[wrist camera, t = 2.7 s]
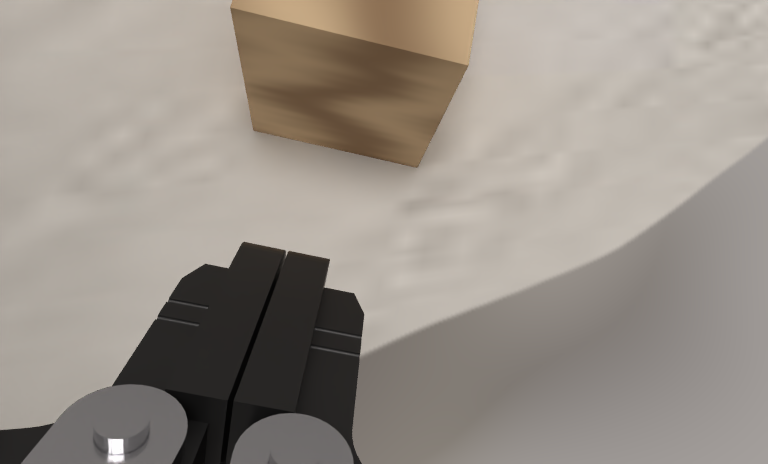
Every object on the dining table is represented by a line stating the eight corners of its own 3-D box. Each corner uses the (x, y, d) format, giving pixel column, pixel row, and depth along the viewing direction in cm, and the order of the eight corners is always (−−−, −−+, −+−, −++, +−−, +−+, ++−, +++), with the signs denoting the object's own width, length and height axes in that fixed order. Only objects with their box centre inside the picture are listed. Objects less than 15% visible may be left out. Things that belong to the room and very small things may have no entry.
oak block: (253, 131, 27) (230, 7, 18) (300, -37, 30) (299, -211, 21) (416, 168, 27) (468, 65, 19) (447, 0, 30) (503, -155, 22)
